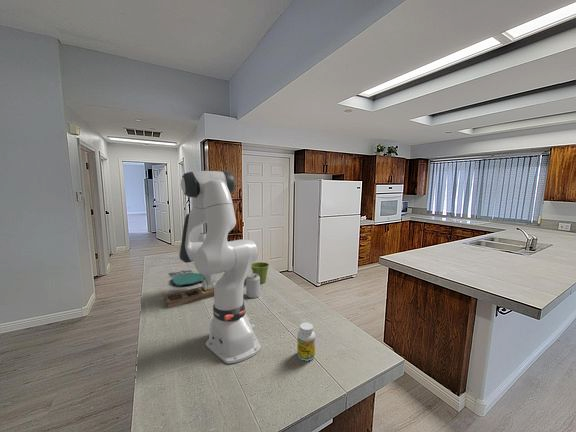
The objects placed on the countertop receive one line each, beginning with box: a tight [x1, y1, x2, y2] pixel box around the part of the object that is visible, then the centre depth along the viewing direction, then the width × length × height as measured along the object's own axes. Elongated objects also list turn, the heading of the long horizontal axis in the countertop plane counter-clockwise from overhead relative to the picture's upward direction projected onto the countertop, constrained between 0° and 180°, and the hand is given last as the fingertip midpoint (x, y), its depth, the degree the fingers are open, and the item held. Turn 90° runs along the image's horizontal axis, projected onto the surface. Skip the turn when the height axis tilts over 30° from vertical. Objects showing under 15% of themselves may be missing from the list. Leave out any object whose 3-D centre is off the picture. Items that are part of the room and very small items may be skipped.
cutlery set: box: [168, 269, 203, 287], centre depth 160 cm, size 20×30×2 cm, turn 36°
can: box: [245, 272, 261, 299], centre depth 135 cm, size 8×8×12 cm
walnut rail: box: [163, 284, 215, 309], centre depth 133 cm, size 11×26×3 cm, turn 127°
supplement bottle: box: [296, 322, 316, 362], centre depth 87 cm, size 6×6×11 cm
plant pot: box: [250, 261, 270, 284], centre depth 155 cm, size 12×12×11 cm
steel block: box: [201, 277, 214, 292], centre depth 137 cm, size 5×5×8 cm
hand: (207, 285), depth 137 cm, fingers closed on steel block, 5 cm apart
